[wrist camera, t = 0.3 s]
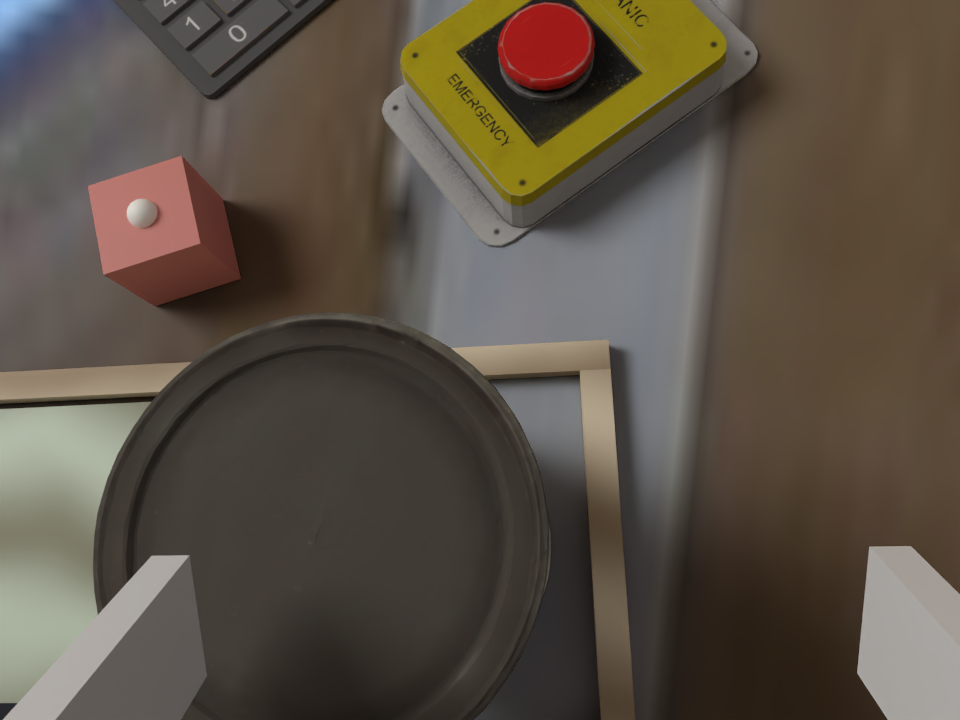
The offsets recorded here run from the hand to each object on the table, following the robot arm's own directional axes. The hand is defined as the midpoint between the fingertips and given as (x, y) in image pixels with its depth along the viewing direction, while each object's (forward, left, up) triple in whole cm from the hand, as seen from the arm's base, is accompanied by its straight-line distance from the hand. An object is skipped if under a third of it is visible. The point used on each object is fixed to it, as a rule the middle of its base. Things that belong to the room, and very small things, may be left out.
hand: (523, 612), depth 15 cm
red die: (+15, +15, -15) cm, 26 cm away
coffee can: (+2, +5, -16) cm, 16 cm away
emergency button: (+22, -2, -16) cm, 27 cm away
